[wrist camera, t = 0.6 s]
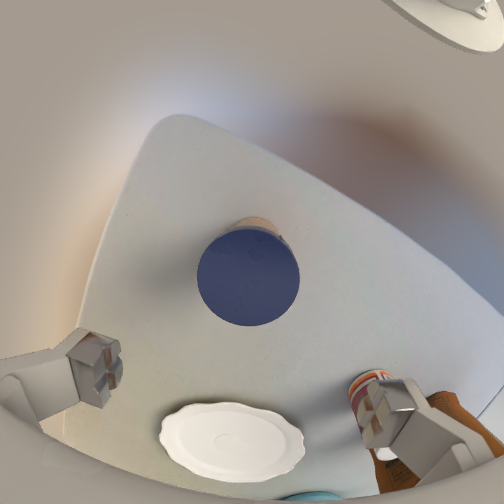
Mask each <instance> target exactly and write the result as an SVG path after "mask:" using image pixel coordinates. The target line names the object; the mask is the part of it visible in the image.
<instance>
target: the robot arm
mask: <svg viewBox="0 0 504 504" xmlns="http://www.w3.org/2000/svg"><path fill="white" fill-rule="evenodd" d="M439 1H440V2H442V3H444V4H446V5H448V6H450V7H452V8H455V9H458V10H462V11H466V12H469V13H471V14H472V15H474V16H476V17H477V18H479V19H481V20H484V19H486V18H487V15H488V3H489V0H439ZM120 352H121V346H120V342H119V341H118V340H116V339H113V338H110V337H107V336H104V335H101V334H98V333H96V332H92V331H90V330H87V329H84V328H77V329H76V330H74V331H73V332H72V333H71V334H70V335H69V336H68V337H67V338H65V339H64V340H63V341H62V342H61V343H60V344H59V345H57V346H56V347H55V348H54V349H53V350H51V349H46V350H41V351H37V352H32V353H28V354H24V355H19V356H15V357H10V358H6V359H1V360H0V504H504V455H502V456H500V457H498V458H495V456H494V455H493V453H492V451H491V450H490V448H489V446H488V445H487V443H486V442H485V440H484V438H483V437H482V436H481V435H480V434H478V433H476V432H475V431H473V430H471V429H469V428H468V427H466V426H464V425H463V424H461V423H459V422H458V421H456V420H454V419H453V418H451V417H449V416H448V415H446V414H444V413H443V412H441V411H439V410H438V409H436V408H435V407H434V408H431V407H430V405H429V404H428V402H427V400H426V399H425V397H424V395H423V394H422V392H421V390H420V389H419V387H418V386H417V384H416V382H415V381H414V380H413V379H411V378H409V379H396V380H372V381H371V382H370V383H369V385H368V387H367V391H368V394H367V395H366V396H365V397H363V398H362V399H361V401H360V404H359V406H358V411H357V419H358V423H359V425H360V426H361V427H363V428H364V429H365V430H364V432H363V433H362V436H363V439H364V442H365V446H366V449H372V448H386V447H389V449H390V450H391V451H392V452H393V453H394V454H395V455H396V456H397V457H398V458H399V459H400V460H401V461H402V462H403V463H404V464H405V465H406V466H407V467H408V468H409V469H410V470H411V471H412V472H414V473H415V474H416V475H417V476H418V477H419V478H420V479H421V480H420V481H419V482H418V483H417V484H416V485H415V486H414V487H413V488H409V489H404V490H400V491H395V492H390V493H384V494H379V495H372V496H365V497H357V498H348V499H337V500H320V501H277V500H261V499H249V498H240V497H232V496H224V495H218V494H212V493H206V492H201V491H196V490H191V489H187V488H182V487H178V486H174V485H170V484H166V483H163V482H159V481H156V480H152V479H149V478H146V477H143V476H140V475H137V474H134V473H131V472H128V471H125V470H122V469H120V468H117V467H114V466H112V465H109V464H107V463H104V462H102V461H100V460H97V459H95V458H93V457H91V456H88V455H86V454H84V453H82V452H80V451H78V450H76V449H74V448H72V447H70V446H68V445H66V444H64V443H62V442H60V441H58V440H56V439H55V438H53V437H51V436H49V435H47V434H46V433H44V432H43V430H42V428H41V426H40V424H39V421H42V420H44V419H46V418H48V417H50V416H52V415H54V414H56V413H58V412H60V411H63V410H65V409H67V408H69V407H71V406H73V405H75V404H77V403H79V402H80V401H83V402H85V403H88V404H90V405H93V406H96V407H98V408H101V409H103V407H104V406H105V404H106V403H107V401H108V400H109V398H110V397H111V394H110V390H112V389H115V388H117V386H118V385H119V383H120V381H121V378H122V375H123V363H122V361H121V359H120V358H119V356H118V355H119V353H120Z"/></svg>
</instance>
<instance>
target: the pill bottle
mask: <svg viewBox="0 0 504 504" xmlns="http://www.w3.org/2000/svg"><path fill="white" fill-rule="evenodd" d="M372 380H394V379H393V377H392V376H391V374H390V373H389V372H387V371H385V370H380V369H377V370H371V371H368V372H366V373H364V374H362V375H360V376H359V377H358V378H357V379H355V380H354V381H353V383H352V384H351V386H350V388H349V392H348V397H349V400H350V403H351V406H352V409H353V412H354V415H355V417H356V420H357V423H358V419H357V411H358V406H359V404H360V401H361V399H362V398H363V397H365V396H366V395H367V394H368V391H367V387H368V385H369V383H370V382H371V381H372ZM358 426H359V429H360V432H361V435H362V433H363V432H364V430H365V429H364V428H363V427H361V426H360V425H359V423H358ZM362 437H363V436H362ZM363 440H364V439H363ZM374 451H375V454H376V456H377V458H378V459H379V460H384V461H386V460H392V459H395V458H398V457H397V456H396V455H395V454H394V453H393V452H392V451H391V450H390V449H389V447H386V448H374Z"/></svg>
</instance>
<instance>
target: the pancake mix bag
mask: <svg viewBox="0 0 504 504" xmlns="http://www.w3.org/2000/svg"><path fill="white" fill-rule="evenodd" d="M426 400H427V402H428V404H429V405H430V407H431V408H434V407H435V408H436V409H438V410H439V411H441V412H443V413H444V414H446V415H448V416H449V417H451V418H453V419H454V420H456V421H458V422H459V423H461V424H463V425H464V426H466V427H468V428H469V429H471V430H473V431H475V432H476V433H478V434H480V435H481V436H482V437H483V438H484V440H485V442H486V443H487V445H488V446H489V448H490V450H491V451H492V453H493V455H494V456H495V458H498V457H500V456H502V455H504V444H503V443H502V442H501V441H500V440H499V439H498V438H496V437H495V436H494V435H493V434H492V433H491V432H490V431H489V430H487V429H486V428H485V427H484V426H483V425H482V424H481V423H480V422H479V421H478V420H477V419H476V418H475V417H474V416H473V415H471V414H470V413H469V412H468V411H466V410H465V409H464V408H463V407H462V406H460V404H459V401H458V398H457V396H456V394H455V393H450V392H447V391H442V392H437V393H435V394H434V395H432V396H430V397H428V398H426ZM361 438H362V439H363V437H361ZM369 450H370V453H371V455H372V458H373V460H374V465H375V473H376V479H377V483H378V487H379V491H380V494H384V493H390V492H395V491H400V490H404V489H409V488H413V487H414V486H415V485H416V484H417V483H418V482H419V481H420V480H421V479H420V478H419V477H418V476H417V475H416V474H415V473H414V472H412V471H411V470H410V469H409V468H408V467H407V466H406V465H405V464H404V463H403V462H402V461H401V460H400V459H399V458H395V459H392V460H386V461H384V460H379V459H378V458H377V456H376V454H375V451H374V448H372V449H369Z"/></svg>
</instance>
